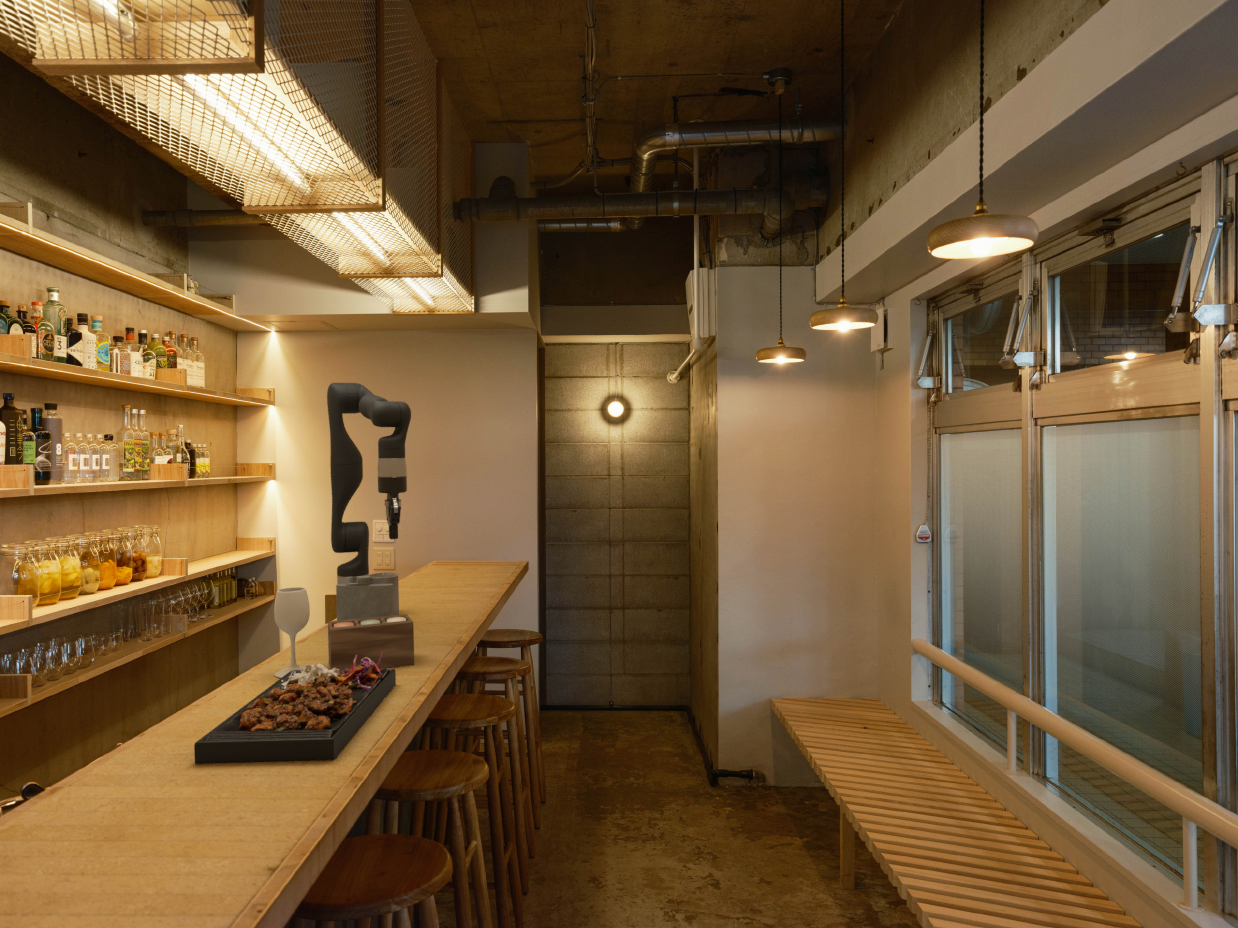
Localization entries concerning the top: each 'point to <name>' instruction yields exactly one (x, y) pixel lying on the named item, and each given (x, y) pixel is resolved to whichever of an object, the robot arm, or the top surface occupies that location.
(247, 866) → the top surface
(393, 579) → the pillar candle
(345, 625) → the orange brown egg
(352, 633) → the three egg wooden crate
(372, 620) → the pale green egg
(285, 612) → the white bowl
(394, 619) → the pale beige egg
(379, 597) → the hip flask
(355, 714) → the food platter
